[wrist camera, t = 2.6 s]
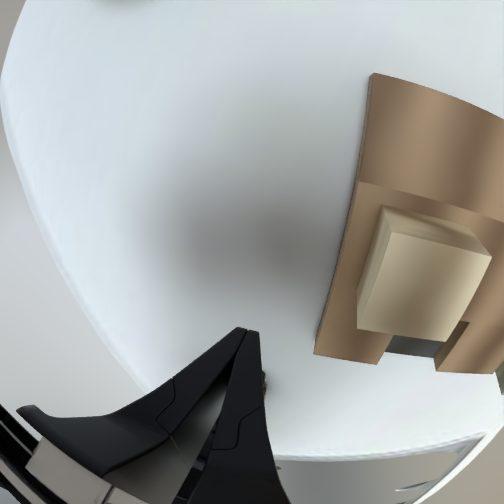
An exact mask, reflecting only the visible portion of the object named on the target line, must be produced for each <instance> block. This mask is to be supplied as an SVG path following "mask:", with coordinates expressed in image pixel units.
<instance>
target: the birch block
mask: <svg viewBox="0 0 504 504" xmlns="http://www.w3.org/2000/svg"><path fill="white" fill-rule="evenodd" d="M491 258H492V256H491V255H490V254H489V252H488V251H487V250H486V248H485V247H484V246H483V244H482V243H481V242H480V240H479V239H478V238H477V237H476V235H475V234H474V233H473V232H472V230H471V229H470V228H469V227H467V226H463V225H460V224H456V223H453V222H449V221H446V220H442V219H439V218H435V217H431V216H427V215H424V214H420V213H416V212H412V211H408V210H404V209H400V208H396V207H391V206H387V205H383V204H381V208H380V212H379V216H378V220H377V224H376V228H375V231H374V235H373V239H372V242H371V246H370V249H369V253H368V256H367V259H366V262H365V266H364V269H363V272H362V275H361V278H360V281H359V284H358V287H357V290H356V292H357V329H362V330H368V331H374V332H380V333H387V334H393V335H399V336H406V337H413V338H420V339H428V340H435V341H443V342H446V341H447V339H448V338H449V336H450V335H451V333H452V331H453V330H454V328H455V327H456V325H457V323H458V322H459V320H460V318H461V317H462V315H463V313H464V312H465V310H466V308H467V306H468V305H469V303H470V301H471V299H472V297H473V295H474V293H475V292H476V290H477V288H478V286H479V284H480V282H481V280H482V278H483V276H484V274H485V271H486V269H487V267H488V265H489V263H490V261H491Z"/></svg>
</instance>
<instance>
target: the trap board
mask: <svg viewBox="0 0 504 504" xmlns="http://www.w3.org/2000/svg"><path fill="white" fill-rule="evenodd" d="M381 204H383V205H387V206H391V207H396V208H400V209H404V210H408V211H412V212H416V213H420V214H424V215H427V216H431V217H435V218H439V219H442V220H446V221H449V222H453V223H456V224H460V225H463V226H467V227H469V228H470V229H471V230H472V232H473V233H474V234H475V235H476V237H477V238H478V239H479V240H480V242H481V243H482V244H483V246H484V247H485V248H486V250H487V251H488V252H489V254H490V255H491V256H492V258H491V261H490V263H489V265H488V267H487V269H486V271H485V274H484V276H483V278H482V280H481V282H480V284H479V286H478V288H477V290H476V292H475V293H474V295H473V297H472V299H471V301H470V303H469V305H468V306H467V308H466V310H465V312H464V313H463V315H462V317H461V318H460V320H459V322H458V323H457V325H456V327H455V328H454V330H453V331H452V333H451V335H450V336H449V338H448V339H447V341H446V342H443V341H435V340H428V339H420V338H413V337H406V336H399V335H393V334H387V333H380V332H374V331H368V330H362V329H357V292H356V290H357V287H358V284H359V281H360V278H361V275H362V272H363V269H364V266H365V262H366V259H367V256H368V253H369V249H370V246H371V242H372V239H373V235H374V231H375V228H376V224H377V220H378V216H379V212H380V208H381ZM384 352H390V353H397V354H405V355H413V356H421V357H430V358H434V363H435V369H436V371H438V372H453V373H472V374H493V373H494V371H495V373H496V376H497V379H498V383H499V387H500V390H501V394H502V395H504V119H502V118H500V117H498V116H496V115H494V114H492V113H490V112H488V111H486V110H483V109H481V108H479V107H477V106H475V105H472V104H470V103H468V102H465V101H463V100H460V99H458V98H455V97H453V96H450V95H448V94H445V93H442V92H439V91H437V90H434V89H431V88H428V87H425V86H422V85H418V84H415V83H412V82H408V81H405V80H401V79H398V78H394V77H390V76H386V75H382V74H378V73H373V74H372V75H371V76H370V78H369V89H368V98H367V107H366V115H365V123H364V130H363V137H362V143H361V150H360V156H359V162H358V168H357V173H356V179H355V184H354V190H353V195H352V200H351V205H350V209H349V214H348V219H347V223H346V228H345V232H344V237H343V241H342V245H341V249H340V253H339V257H338V261H337V265H336V269H335V273H334V277H333V281H332V284H331V288H330V292H329V295H328V299H327V302H326V306H325V309H324V312H323V316H322V319H321V322H320V326H319V329H318V332H317V335H316V340H315V346H314V352H313V354H315V355H320V356H326V357H331V358H337V359H343V360H349V361H355V362H361V363H368V364H375V365H377V363H378V362H379V360H380V358H381V357H382V355H383V353H384Z"/></svg>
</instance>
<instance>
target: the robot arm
mask: <svg viewBox="0 0 504 504" xmlns="http://www.w3.org/2000/svg"><path fill="white" fill-rule="evenodd" d="M264 379H265V374H264V373H263V372H262V364H261V351H260V337H259V332H257V331H253V330H247V329H245V328H241V327H236V328H235V329H234V330H232V331H231V332H230V333H229V334H227V335H226V336H225V337H224V338H222V339H221V340H220V341H219V342H217V343H216V344H215V345H214V346H212V347H211V348H210V349H209V350H207V351H206V352H205V353H203V354H202V355H201V356H200V357H198V358H197V359H196V360H194V361H193V362H192V363H191V364H189V365H188V366H187V367H185V368H184V369H183V370H181V371H180V372H179V373H177V374H176V375H175V376H173V379H172V378H171V379H169V380H168V381H167V382H165V383H164V384H162V385H161V386H160V387H158V388H157V389H155V390H154V391H152V392H150V393H149V394H147V395H145V396H144V397H142V398H140V399H138V400H136V401H134V402H133V403H131V404H129V405H127V406H125V407H123V408H121V409H120V410H118V411H115V412H113V413H111V414H107V415H103V416H93V417H73V418H57V417H52V416H49V415H47V414H45V413H44V412H43V411H41V410H40V409H39V408H38V407H36V406H35V405H28V406H23V407H21V408H18V409H17V410H16V412H17V413H18V414H19V415H20V416H21V417H23V419H24V420H26V422H28V423H29V424H30V425H31V426H32V427H33V428H34V429H35V430H36V431H37V432H39V433H40V434H41V435H42V436H43V437H42V439H41V440H40V441H38V440H37V439H36V438H35V437H33V436H32V435H31V434H30V433H29V432H28V431H27V430H26V429H25V428H24V427H23V426H22V425H21V424H19V422H18V421H17V420H16V419H15V418H14V417H13V416H12V415H11V414H10V413H8V411H6V410H5V408H4V407H3V406H2V405H1V404H0V487H2V488H4V489H6V490H8V491H9V492H10V493H11V494H12V495H13V496H14V497H15V498H16V499H17V500H18V501H19V502H20V503H21V504H291V502H290V500H289V498H288V496H287V494H286V492H285V490H284V488H283V486H282V484H281V481H280V479H279V476H278V472H277V469H276V465H275V461H274V457H273V453H272V449H271V445H270V441H269V436H268V431H267V425H266V417H265V407H264V399H265V395H266V390H267V389H266V387H265V386H263V385H264Z"/></svg>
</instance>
